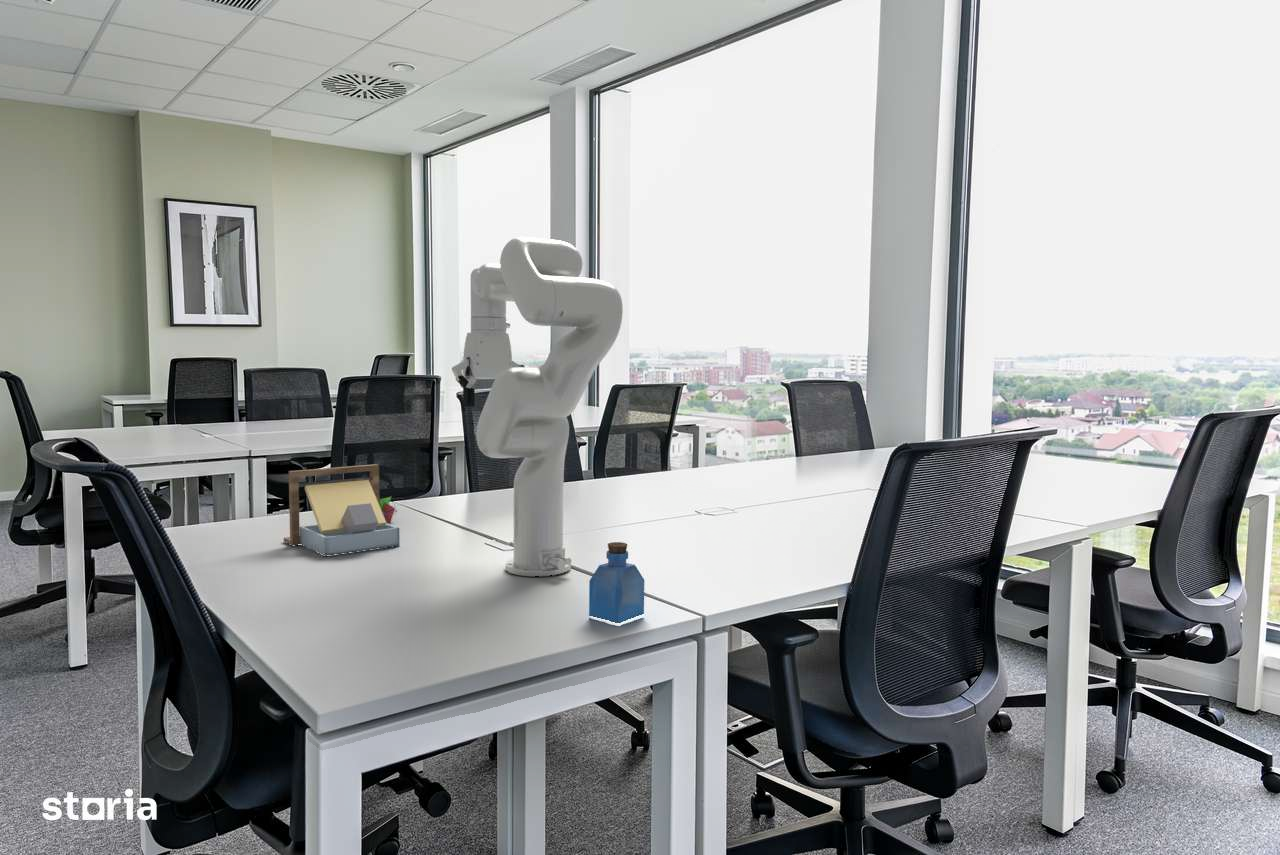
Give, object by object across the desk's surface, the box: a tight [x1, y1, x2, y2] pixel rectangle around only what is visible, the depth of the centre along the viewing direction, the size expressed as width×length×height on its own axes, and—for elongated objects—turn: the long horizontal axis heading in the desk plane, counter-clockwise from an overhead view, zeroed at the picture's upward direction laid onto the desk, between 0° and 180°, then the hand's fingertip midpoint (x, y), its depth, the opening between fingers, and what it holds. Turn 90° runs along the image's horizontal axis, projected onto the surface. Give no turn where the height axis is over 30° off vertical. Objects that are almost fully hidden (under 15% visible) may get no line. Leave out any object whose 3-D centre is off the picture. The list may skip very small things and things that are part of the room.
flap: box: [304, 480, 387, 533], centre depth 184 cm, size 12×14×1 cm
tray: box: [299, 522, 401, 556], centre depth 183 cm, size 14×16×4 cm
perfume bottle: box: [588, 541, 645, 623], centre depth 136 cm, size 6×6×12 cm
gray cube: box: [341, 503, 378, 534], centre depth 179 cm, size 5×5×5 cm
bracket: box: [283, 463, 380, 545], centre depth 189 cm, size 6×20×16 cm, turn 132°
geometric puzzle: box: [379, 495, 398, 524], centre depth 208 cm, size 7×7×8 cm
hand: (488, 406), depth 185 cm, fingers open, 9 cm apart
